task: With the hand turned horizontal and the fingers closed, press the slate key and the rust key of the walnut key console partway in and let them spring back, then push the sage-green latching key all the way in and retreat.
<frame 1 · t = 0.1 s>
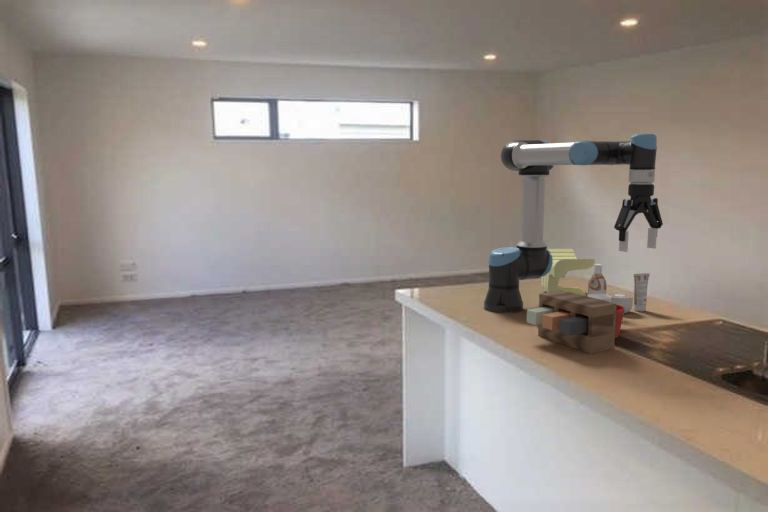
hand: (637, 249, 190), 28 cm above the counter, tool pointing down, fingers open, 13 cm apart
cosmetic set: (618, 312, 223), on the counter
sage key: (543, 315, 188), point 8 cm above the counter, slide at 0.0 cm
flower pot: (605, 336, 193), on the counter
rust key: (559, 320, 182), point 8 cm above the counter, slide at 0.0 cm
console: (574, 341, 186), on the counter
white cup: (597, 324, 207), on the counter
slate key: (576, 325, 176), point 8 cm above the counter, slide at 0.0 cm
slatted curved stool: (562, 294, 254), on the counter
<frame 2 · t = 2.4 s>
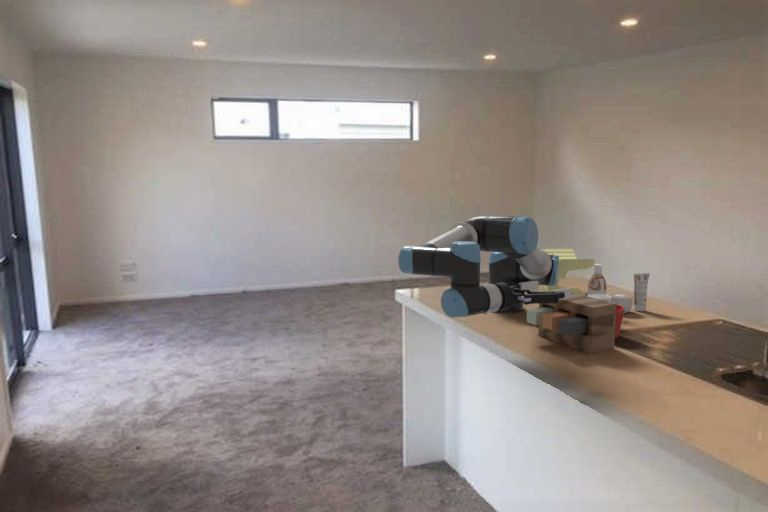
hand: (553, 289, 169), 20 cm above the counter, tool horizontal, fingers open, 12 cm apart
nothing on the counter moved.
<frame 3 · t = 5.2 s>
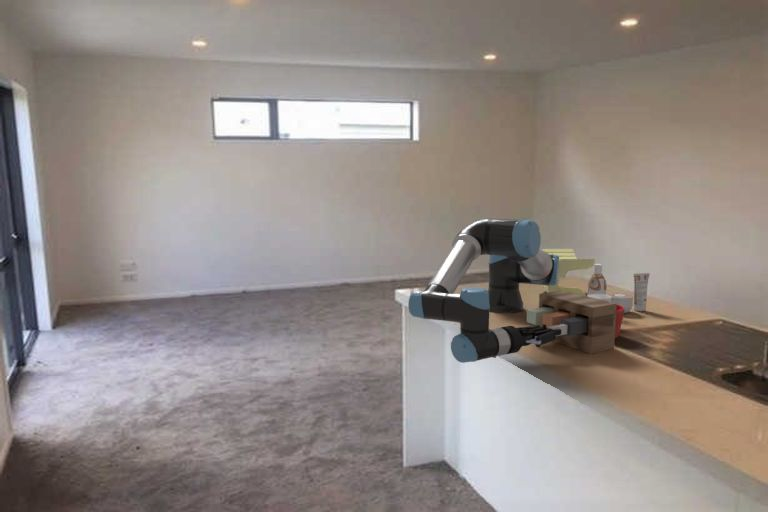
hand: (565, 328, 173), 8 cm above the counter, tool horizontal, fingers closed
slate key: (577, 325, 176), point 8 cm above the counter, slide at 0.4 cm, touching gripper
everything else where it was.
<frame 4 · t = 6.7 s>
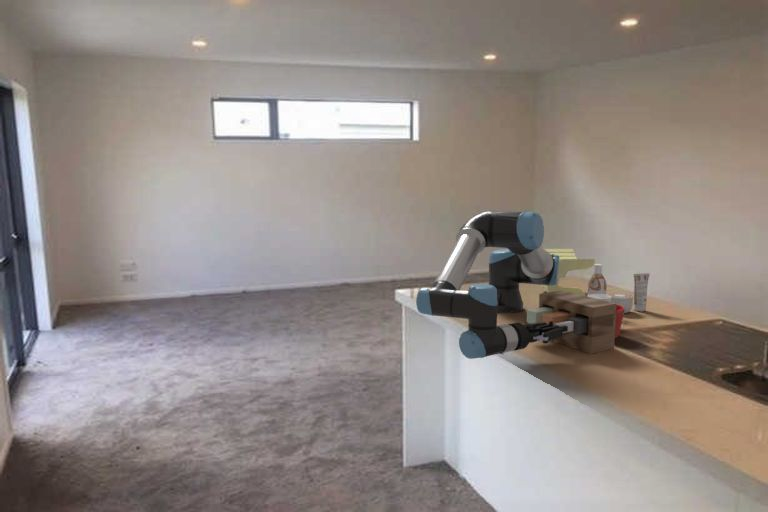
hand: (571, 325, 174), 8 cm above the counter, tool horizontal, fingers closed
slate key: (584, 323, 177), point 8 cm above the counter, slide at 3.0 cm, touching gripper
everything else where it was.
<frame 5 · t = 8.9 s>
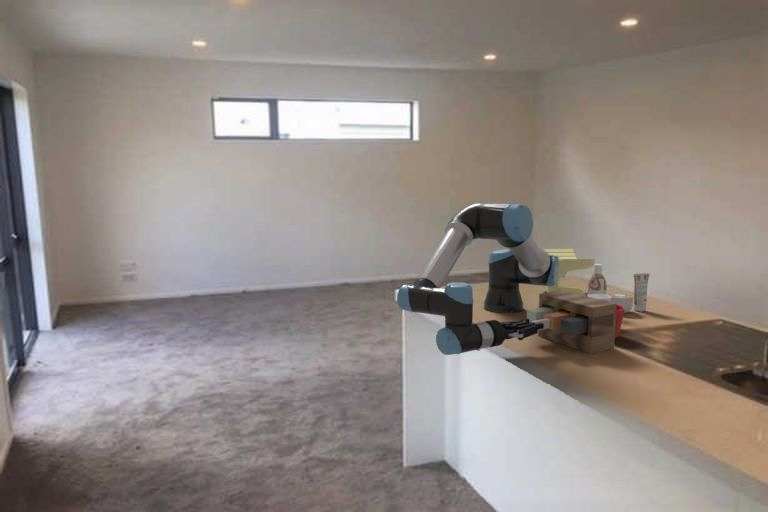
hand: (547, 323, 179), 8 cm above the counter, tool horizontal, fingers closed
rust key: (560, 319, 182), point 8 cm above the counter, slide at 0.4 cm, touching gripper
slate key: (577, 325, 176), point 8 cm above the counter, slide at 0.4 cm
everything else where it was.
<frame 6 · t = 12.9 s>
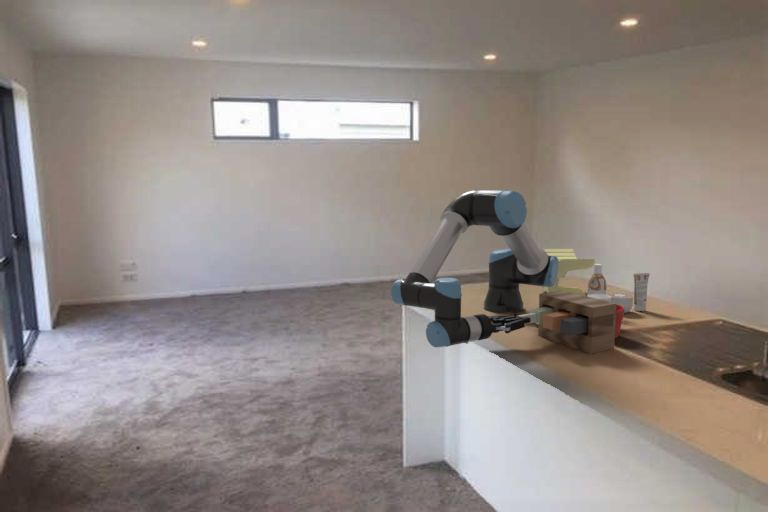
hand: (534, 317, 186), 8 cm above the counter, tool horizontal, fingers closed
sage key: (546, 314, 188), point 8 cm above the counter, slide at 1.6 cm, touching gripper
rust key: (559, 320, 182), point 8 cm above the counter, slide at 0.1 cm
everything else where it was.
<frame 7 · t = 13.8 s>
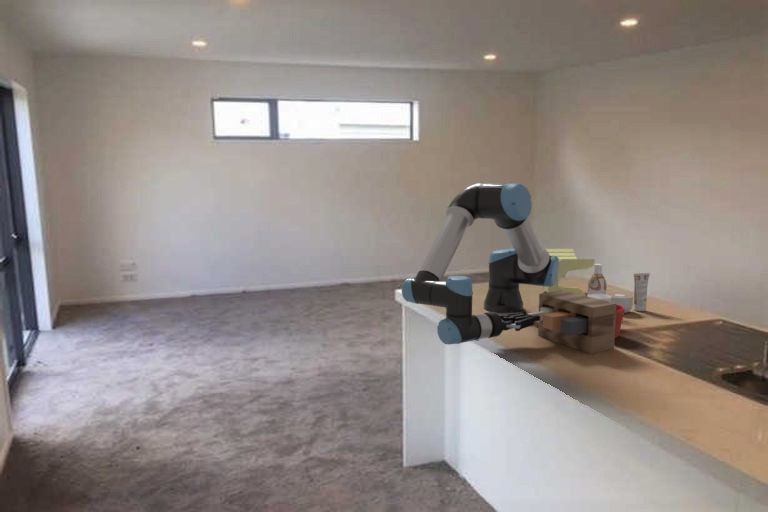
hand: (544, 315, 188), 8 cm above the counter, tool horizontal, fingers closed
sage key: (556, 313, 190), point 8 cm above the counter, slide at 5.6 cm, touching gripper
everything else where it was.
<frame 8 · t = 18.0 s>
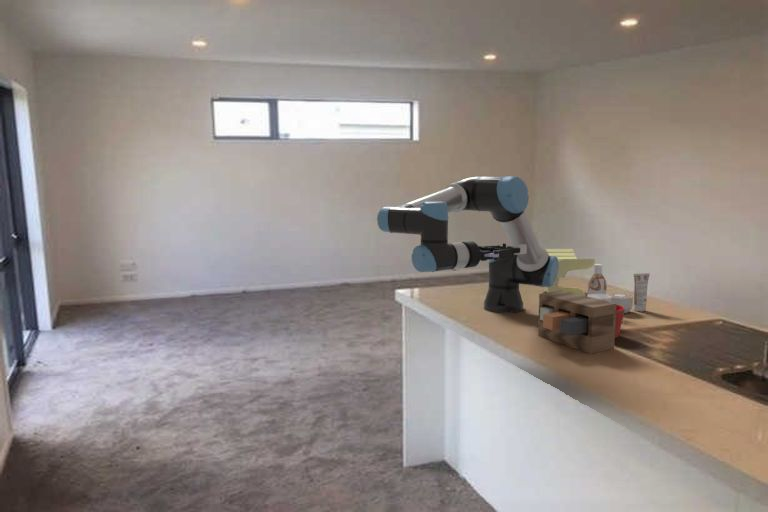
hand: (524, 248, 180), 30 cm above the counter, tool horizontal, fingers closed
sage key: (556, 313, 190), point 8 cm above the counter, slide at 5.6 cm
everything else where it was.
at the end: sage key slide at 5.6 cm; slate key slide at 0.4 cm; rust key slide at 0.1 cm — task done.
